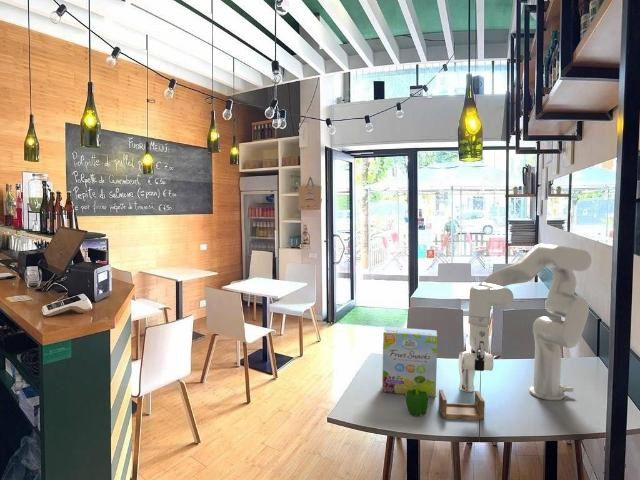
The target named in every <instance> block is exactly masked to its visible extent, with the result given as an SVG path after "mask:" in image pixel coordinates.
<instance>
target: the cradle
mask: <svg viewBox="0 0 640 480" xmlns="http://www.w3.org/2000/svg"><path fill="white" fill-rule="evenodd" d="M438 408H439V409H438V410H439V412H440V414H441V417H442V419H444V420H460V421H461V420H466V421H485V400H484V398H483V396H482V395H481V393H480V391H479V390H474V403H460V402H459V403H456V402H448V401H447V397H446V395H445V393H444V391H443V389H438Z"/></svg>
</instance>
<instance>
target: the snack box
mask: <svg viewBox="0 0 640 480" xmlns="http://www.w3.org/2000/svg"><path fill="white" fill-rule="evenodd" d="M437 361H438V331H437V329H436V330H435V329H434V330H433V329H423V328H422V329H421V328H406V327H391V326H384V331H383V342H382V375H381V377H382V379H381V380H382V383H381V384H382V393H391V394H399V395H406V394H407V392H408V390H414V389H415V387H413V385H416V386H417V388H418V390H420V391H421V392H422V391H424V392H426V393H427V395H428V398H429V397H430V398H436V396H437V393H436V392H437V390H436V389H437V369H438V368H437V366H438V365H437V364H438V362H437Z"/></svg>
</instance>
